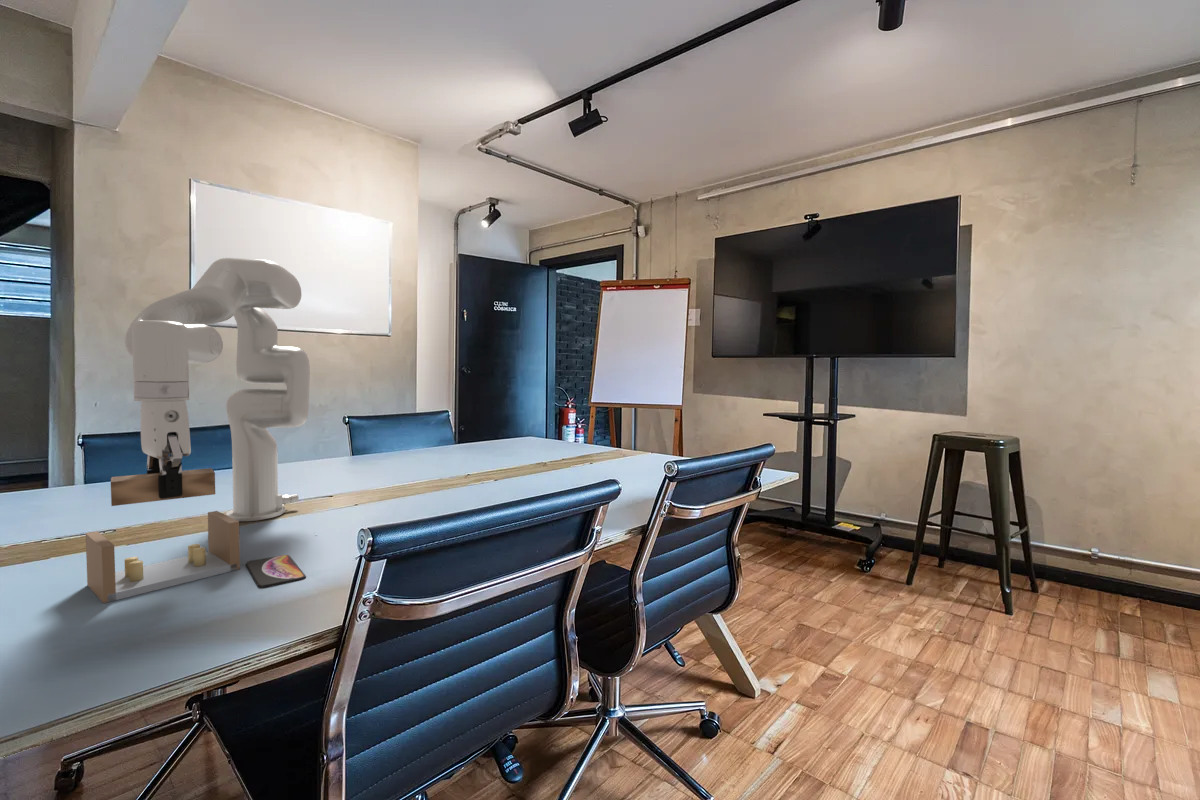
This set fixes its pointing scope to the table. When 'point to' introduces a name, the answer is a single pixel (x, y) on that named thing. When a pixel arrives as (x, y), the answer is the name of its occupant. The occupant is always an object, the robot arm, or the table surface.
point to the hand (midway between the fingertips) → (164, 493)
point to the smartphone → (274, 571)
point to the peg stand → (162, 563)
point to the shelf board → (147, 487)
